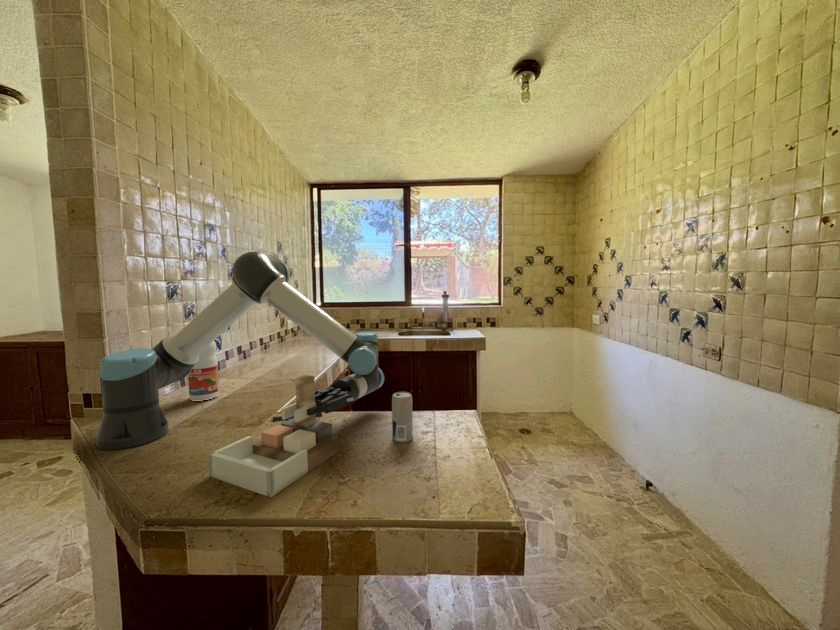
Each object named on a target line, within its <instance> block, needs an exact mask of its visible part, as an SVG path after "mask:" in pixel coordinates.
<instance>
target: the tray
mask: <svg viewBox="0 0 840 630" xmlns="http://www.w3.org/2000/svg"><path fill="white" fill-rule="evenodd" d="M252 443H253V436H251V435H248V436H245V437H243V438H241V439H239V440H237V441H234V442H232V443H230V444H227V445H226V446H223V447H221V448H219V449H217V450H214V451H213V452H210V453H208V469H209V470H208V471H209V477H210V478H213V479H214V480H215V479H216V480H218V481H221V482H224V483H227V484H231V485H234V486H236V487H238V488H242V489H244V490H248V491H251V492H254V493H257V494H261V495H263V496H266V497H269V498H272V497H273V496H276V495H277V494H278V493H280V492H281V491H282V490H284V489H285V488H287V487H289V486H290V485H291V484H293V483H294V482H296V481H297V480H299V479H300V478H302V477H303V476H304V475H306V474H308V473H309V472H308V459H307V450H305V449H303V450H302V451H300V452H298V453H296V454H295V455H293V456H291V457H290V458H288V459H286V460H284V461H283V462H281V461H278V460H274V459H271V458H267V457H263V456H260V455H256V454H253V446H252Z"/></svg>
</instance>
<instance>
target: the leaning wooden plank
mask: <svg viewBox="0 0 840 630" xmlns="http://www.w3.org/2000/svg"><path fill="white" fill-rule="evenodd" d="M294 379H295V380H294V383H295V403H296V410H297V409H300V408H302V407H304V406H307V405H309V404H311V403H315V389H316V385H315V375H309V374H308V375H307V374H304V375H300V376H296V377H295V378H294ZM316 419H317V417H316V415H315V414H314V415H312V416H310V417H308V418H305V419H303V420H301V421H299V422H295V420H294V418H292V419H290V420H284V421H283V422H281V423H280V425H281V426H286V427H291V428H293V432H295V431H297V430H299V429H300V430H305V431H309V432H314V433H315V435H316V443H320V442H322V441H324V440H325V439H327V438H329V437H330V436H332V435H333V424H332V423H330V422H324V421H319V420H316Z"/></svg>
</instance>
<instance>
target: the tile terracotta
mask: <svg viewBox="0 0 840 630" xmlns="http://www.w3.org/2000/svg"><path fill="white" fill-rule="evenodd" d="M291 433H293V428H291V427H286V426H281V424H276V425H275V426H272V427H270V428H268V429H265V430H263V431H261V438H262V445H266V446H270V447H274V448H279V447H281V446H283V445H284V443H283V437H285V436H287V435H289V434H291Z"/></svg>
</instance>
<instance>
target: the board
mask: <svg viewBox="0 0 840 630" xmlns="http://www.w3.org/2000/svg"><path fill="white" fill-rule="evenodd" d="M342 439H343V437H341V436H336V435H333V434H332V436H330V437H329V438H327V439H325V440H324V441H322V442H320V443H316V445H315V446H313V447H312V448H310V449H308V450H307V459H308V473H309V472H310V471H312V470H314V469H315V468H316V467H318V466H319V465H321V464H323V463H324V462H325V461H327V460H328V459H330V458H331V457H333V456H334V455H335V454H337V453H338V452H341V450H343V440H342ZM252 446H253V454H256V455H260V456H263V457H267V458H271V459H274V460H278V461H281V462H283V461H284V460H286V459H288V458H290V457H291V456H293V455H295V454H296V453H293V452H289V451H285V450H284V445H283V446H281V447H279V448H274V447H270V446H266V445H262V437H261V438H259V439H256V440H255V441H252Z"/></svg>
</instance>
